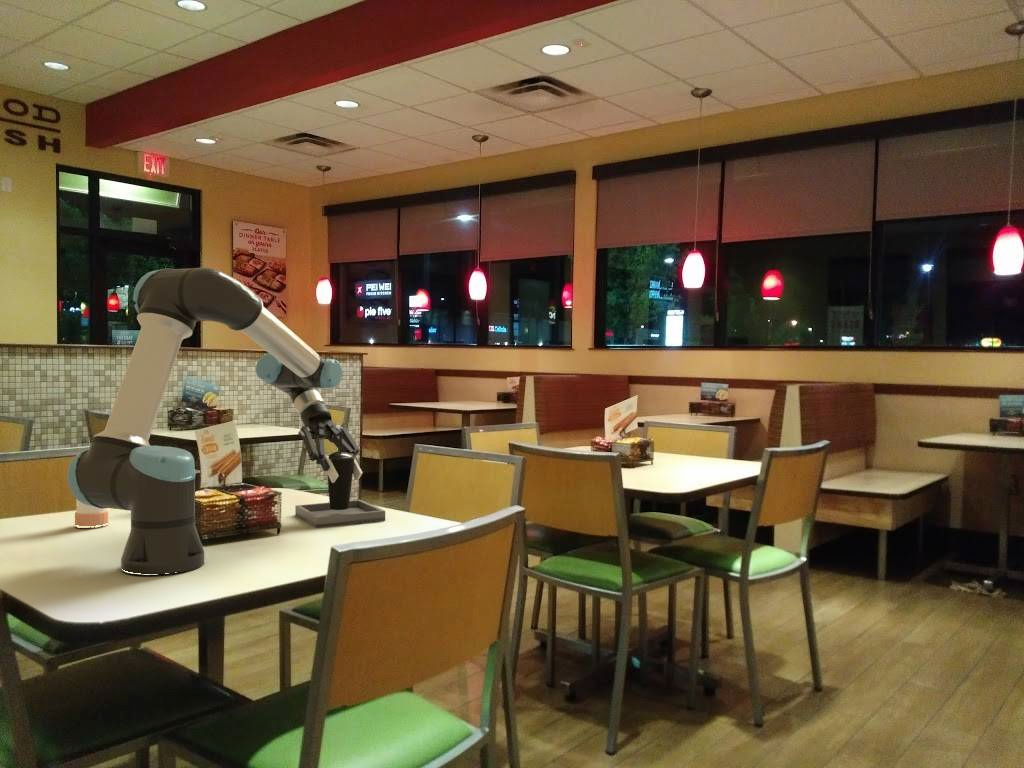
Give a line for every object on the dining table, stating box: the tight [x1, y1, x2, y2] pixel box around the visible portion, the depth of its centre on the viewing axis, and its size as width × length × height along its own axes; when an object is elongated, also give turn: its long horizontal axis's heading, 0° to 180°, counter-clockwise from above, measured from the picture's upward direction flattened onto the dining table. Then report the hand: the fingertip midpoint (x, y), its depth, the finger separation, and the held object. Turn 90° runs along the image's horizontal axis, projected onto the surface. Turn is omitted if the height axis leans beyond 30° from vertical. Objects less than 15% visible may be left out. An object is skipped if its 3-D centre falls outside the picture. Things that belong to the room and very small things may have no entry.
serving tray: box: [295, 499, 386, 529], centre depth 204 cm, size 18×18×2 cm
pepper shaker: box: [74, 447, 109, 526], centre depth 191 cm, size 7×7×19 cm
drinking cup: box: [325, 432, 355, 510], centre depth 204 cm, size 8×8×20 cm
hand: (347, 477), depth 202 cm, fingers closed on drinking cup, 7 cm apart
